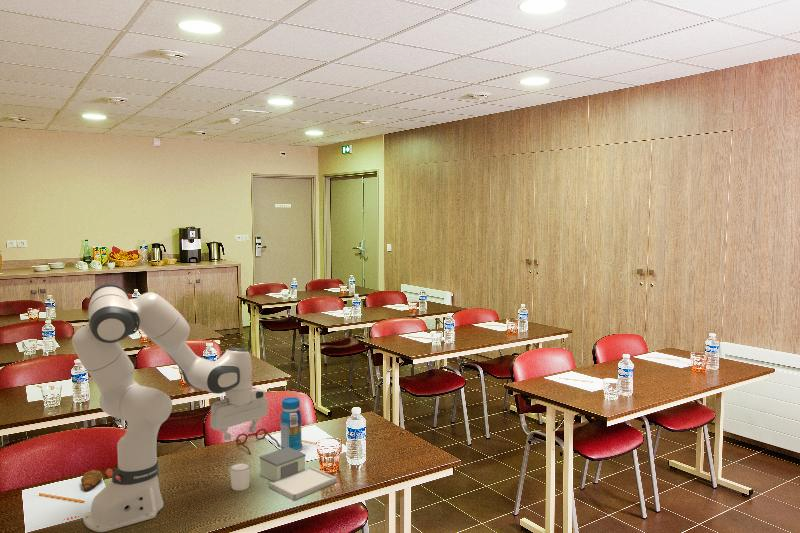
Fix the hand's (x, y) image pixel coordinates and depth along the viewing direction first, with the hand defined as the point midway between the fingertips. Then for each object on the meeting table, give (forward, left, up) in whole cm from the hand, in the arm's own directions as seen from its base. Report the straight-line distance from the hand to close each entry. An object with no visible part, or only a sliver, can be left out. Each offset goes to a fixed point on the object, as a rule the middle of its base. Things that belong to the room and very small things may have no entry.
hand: (240, 435), depth 200 cm
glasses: (+25, +26, -18) cm, 40 cm away
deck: (+15, -9, -18) cm, 25 cm away
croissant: (-33, +40, -18) cm, 55 cm away
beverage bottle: (+32, +14, -18) cm, 39 cm away
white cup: (0, 0, -18) cm, 18 cm away
